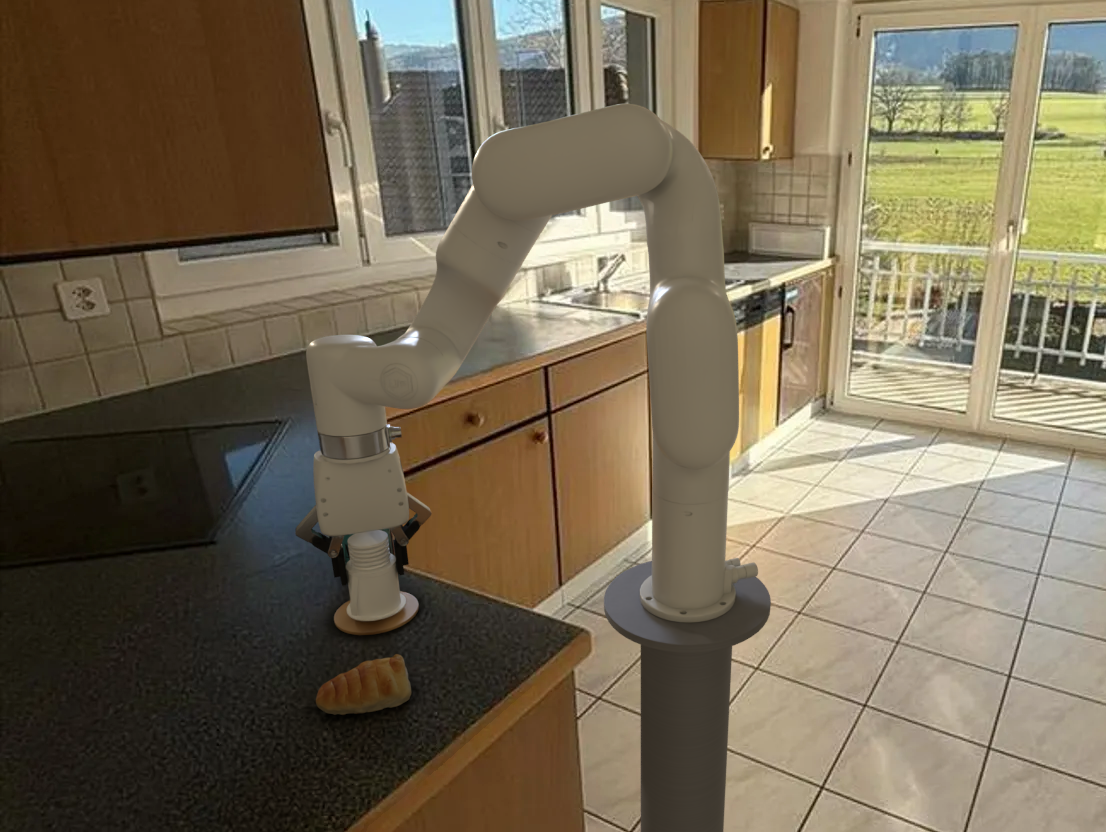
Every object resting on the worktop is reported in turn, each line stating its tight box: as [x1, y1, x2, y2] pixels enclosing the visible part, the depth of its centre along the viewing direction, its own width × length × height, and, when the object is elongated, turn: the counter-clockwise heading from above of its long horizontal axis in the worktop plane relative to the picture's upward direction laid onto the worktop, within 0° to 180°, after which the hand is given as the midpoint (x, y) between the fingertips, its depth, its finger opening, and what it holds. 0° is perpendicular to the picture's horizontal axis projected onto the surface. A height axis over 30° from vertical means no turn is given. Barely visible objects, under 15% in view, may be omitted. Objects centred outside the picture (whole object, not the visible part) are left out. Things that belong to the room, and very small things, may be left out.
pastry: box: [315, 653, 412, 716], centre depth 85 cm, size 9×7×4 cm
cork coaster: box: [333, 590, 420, 636], centre depth 101 cm, size 10×10×1 cm
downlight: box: [346, 530, 406, 621], centre depth 99 cm, size 8×7×10 cm
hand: (372, 574), depth 99 cm, fingers closed on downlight, 5 cm apart
